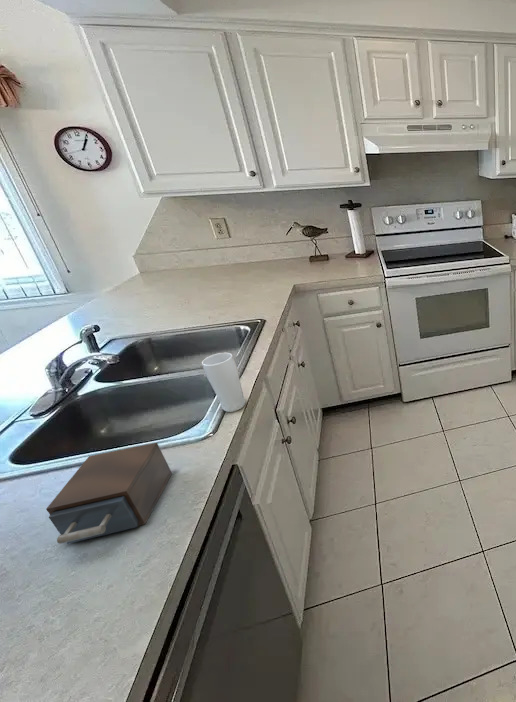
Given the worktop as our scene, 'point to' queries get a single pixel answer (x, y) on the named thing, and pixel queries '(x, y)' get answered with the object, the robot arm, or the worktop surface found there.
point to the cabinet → (118, 480)
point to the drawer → (93, 519)
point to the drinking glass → (224, 380)
